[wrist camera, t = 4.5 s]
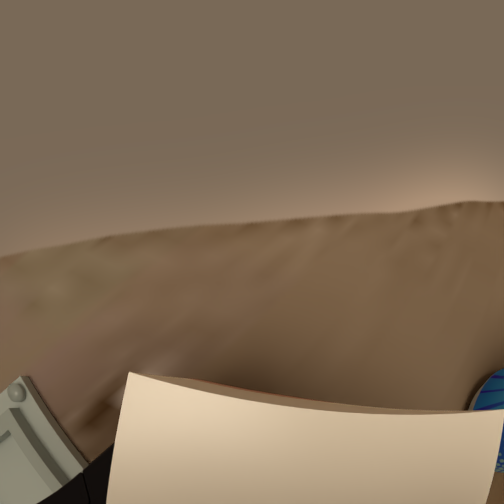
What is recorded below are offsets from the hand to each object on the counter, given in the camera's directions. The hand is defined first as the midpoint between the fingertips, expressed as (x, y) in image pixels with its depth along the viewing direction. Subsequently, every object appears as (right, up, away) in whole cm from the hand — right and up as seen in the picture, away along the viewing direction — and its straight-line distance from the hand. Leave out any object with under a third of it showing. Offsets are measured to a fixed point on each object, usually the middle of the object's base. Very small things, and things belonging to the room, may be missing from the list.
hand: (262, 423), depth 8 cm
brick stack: (-1, -4, +6) cm, 7 cm away
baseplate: (-15, -11, +5) cm, 19 cm away
